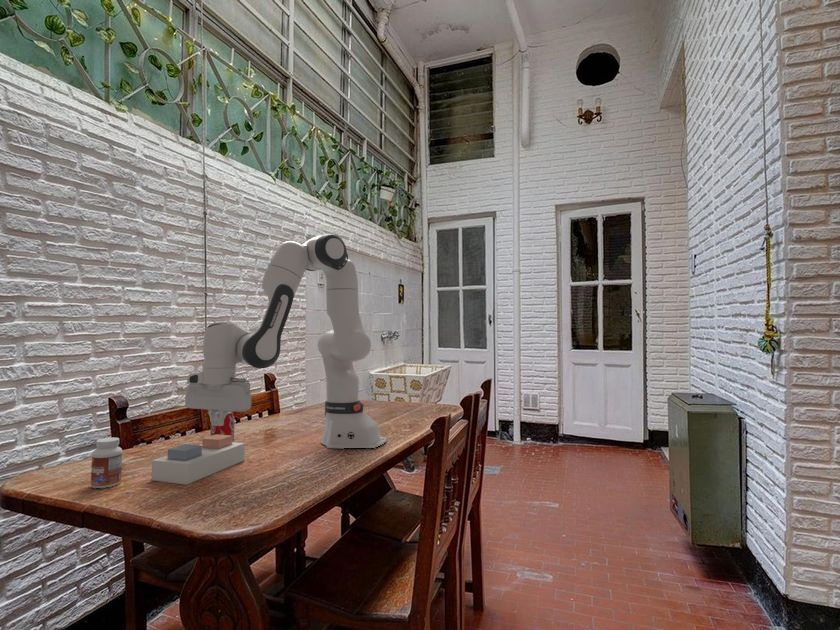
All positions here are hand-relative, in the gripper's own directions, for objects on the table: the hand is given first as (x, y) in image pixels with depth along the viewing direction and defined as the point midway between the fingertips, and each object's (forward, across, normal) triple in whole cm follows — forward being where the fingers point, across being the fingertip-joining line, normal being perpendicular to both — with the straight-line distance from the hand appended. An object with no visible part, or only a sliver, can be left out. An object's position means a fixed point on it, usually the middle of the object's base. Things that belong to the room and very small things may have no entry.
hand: (217, 425), depth 129 cm
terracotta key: (+7, 0, 0) cm, 7 cm away
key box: (+11, 0, +6) cm, 12 cm away
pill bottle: (+11, +13, +23) cm, 29 cm away
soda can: (+11, +9, -13) cm, 19 cm away
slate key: (+7, 0, +12) cm, 14 cm away
